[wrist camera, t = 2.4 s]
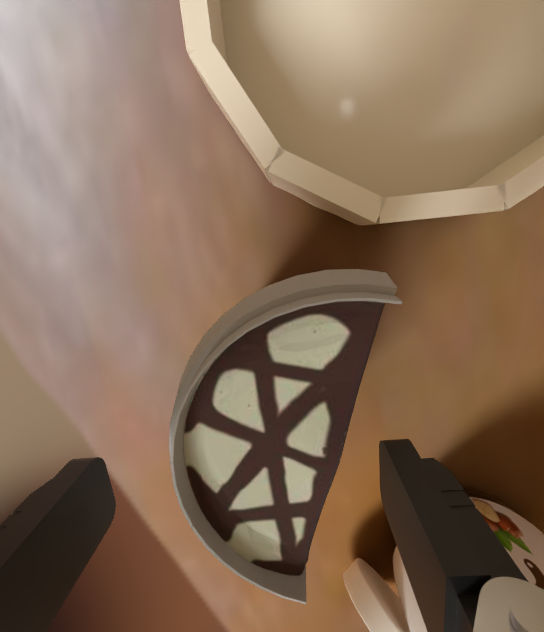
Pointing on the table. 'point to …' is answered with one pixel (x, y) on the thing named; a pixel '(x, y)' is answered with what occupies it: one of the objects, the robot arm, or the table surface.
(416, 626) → the spread jar
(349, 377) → the food container
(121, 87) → the table surface
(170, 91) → the table surface
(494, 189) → the bowl
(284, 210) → the table surface
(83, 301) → the table surface
